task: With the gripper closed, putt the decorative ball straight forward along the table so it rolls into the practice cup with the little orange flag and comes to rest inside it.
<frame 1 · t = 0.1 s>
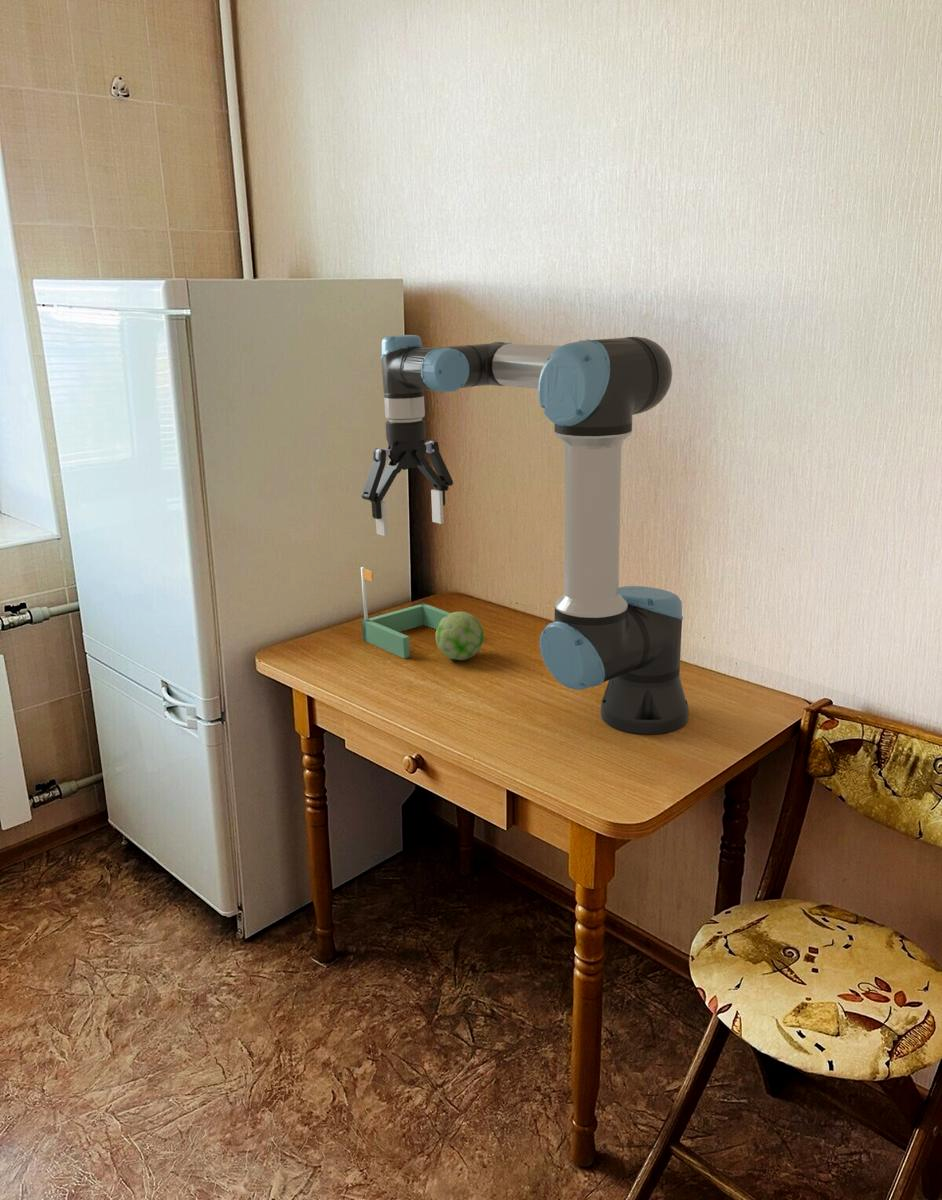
hand: (410, 528, 187), 28 cm above the table, fingers open, 13 cm apart
practice cup: (417, 640, 208), on the table
decorative ball: (460, 659, 197), on the table
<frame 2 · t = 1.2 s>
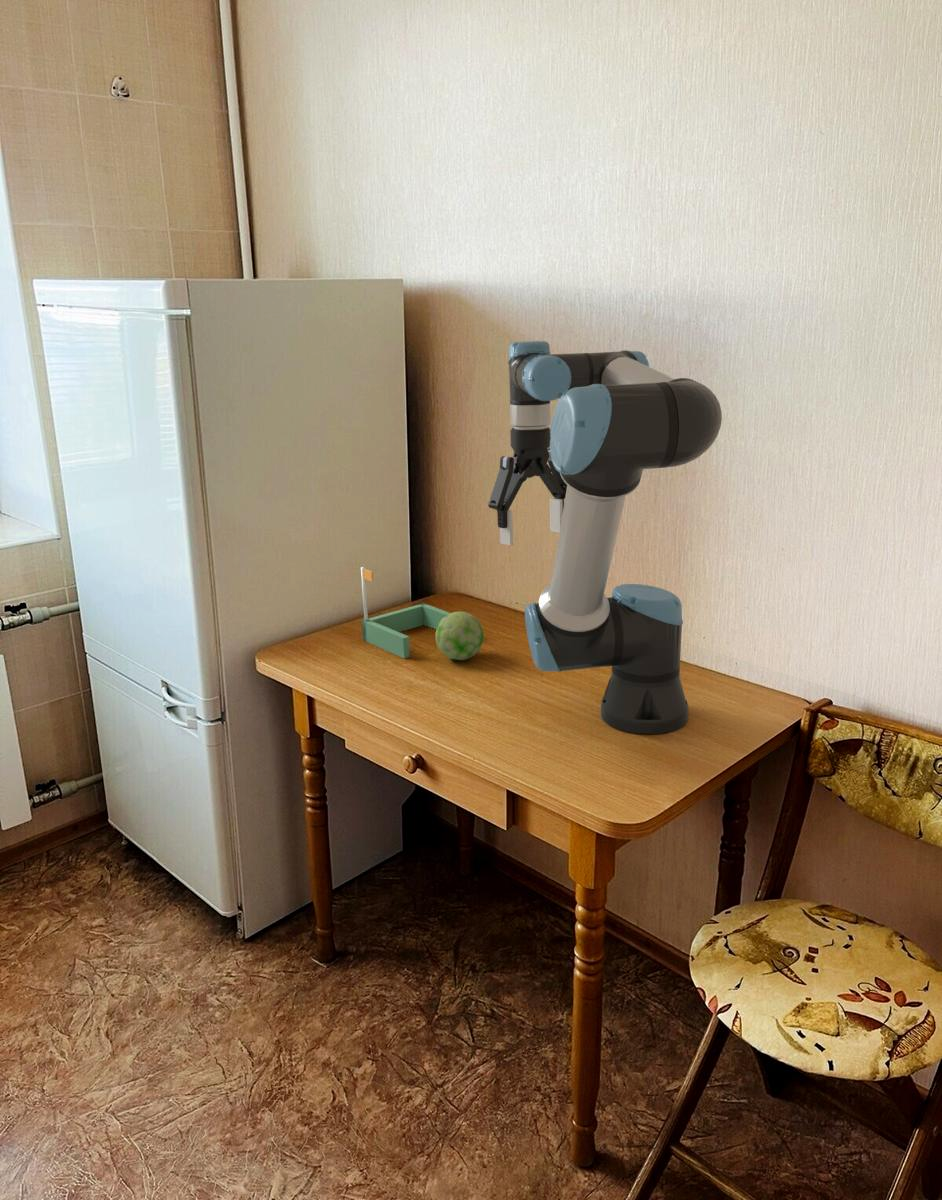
hand: (532, 537, 184), 26 cm above the table, fingers open, 13 cm apart
nothing on the table moved.
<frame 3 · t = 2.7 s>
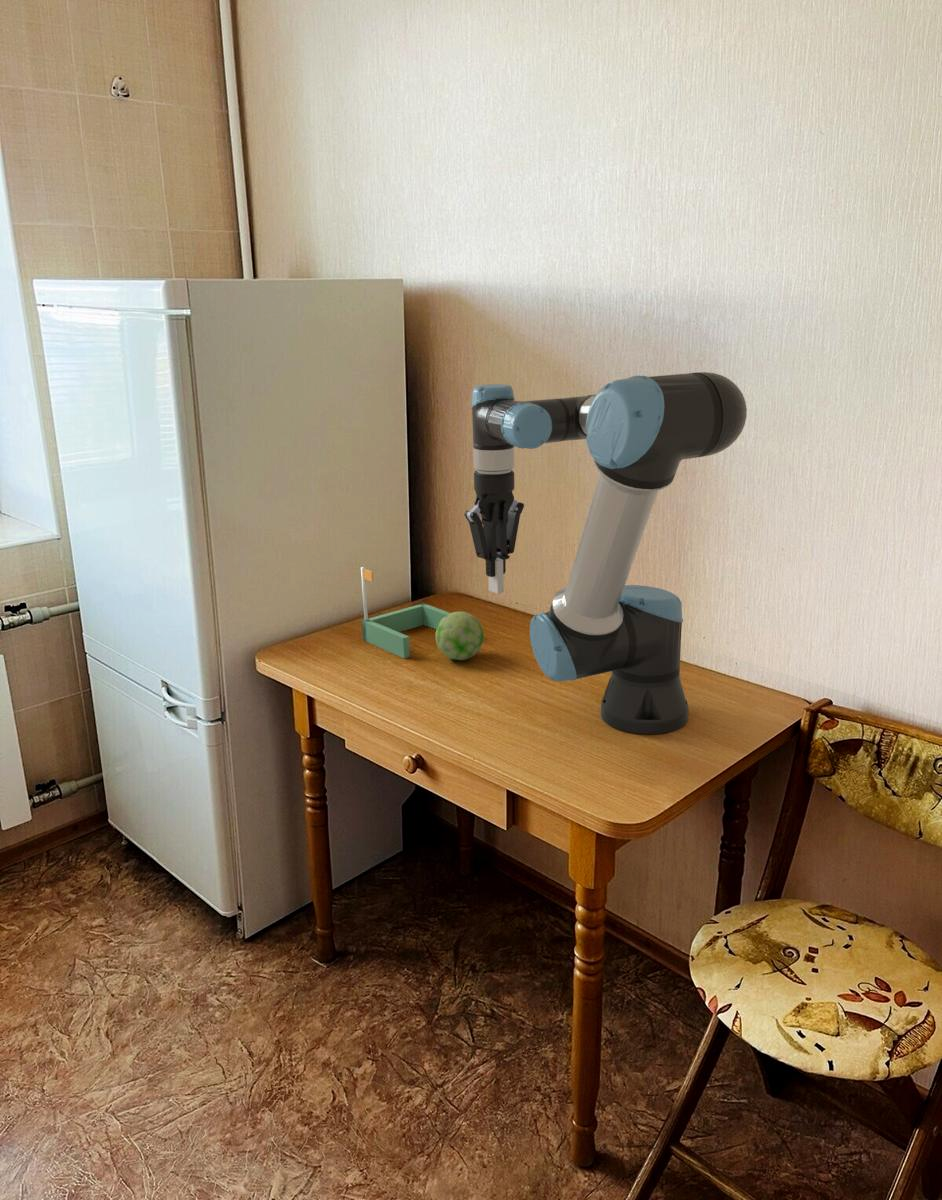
hand: (496, 591, 184), 17 cm above the table, fingers closed
nothing on the table moved.
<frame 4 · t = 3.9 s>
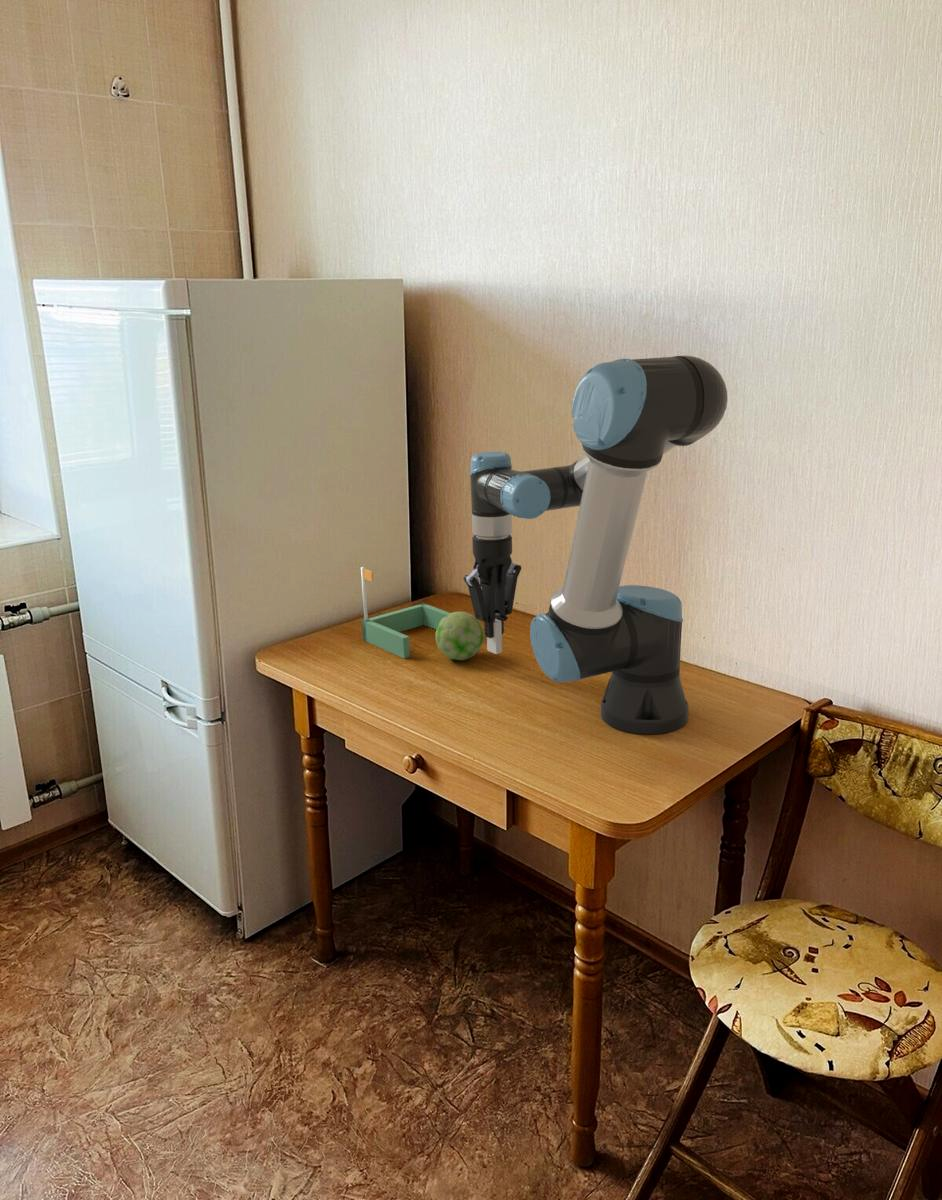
hand: (494, 651, 187), 5 cm above the table, fingers closed
nothing on the table moved.
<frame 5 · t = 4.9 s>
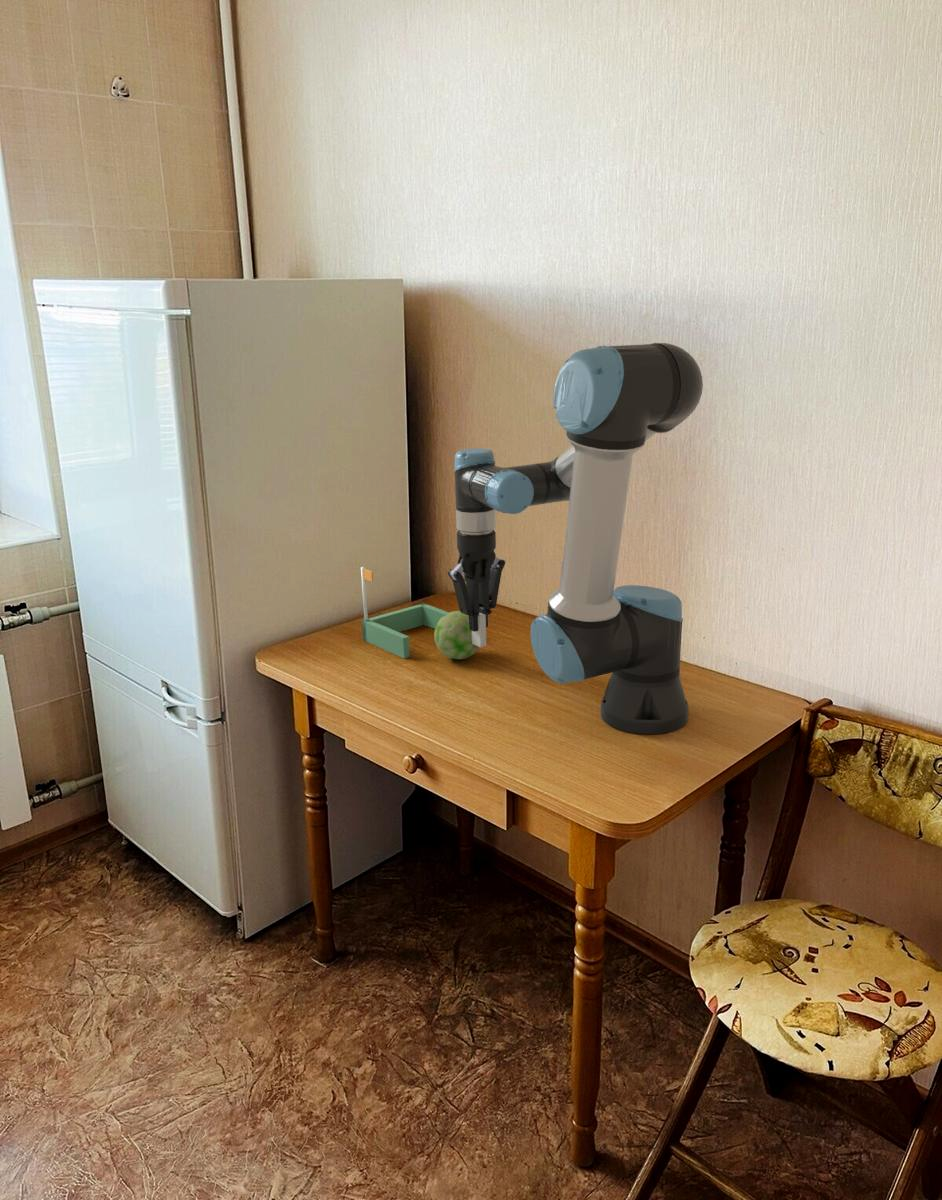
hand: (479, 644, 191), 5 cm above the table, fingers closed
decorative ball: (459, 658, 197), on the table, touching gripper
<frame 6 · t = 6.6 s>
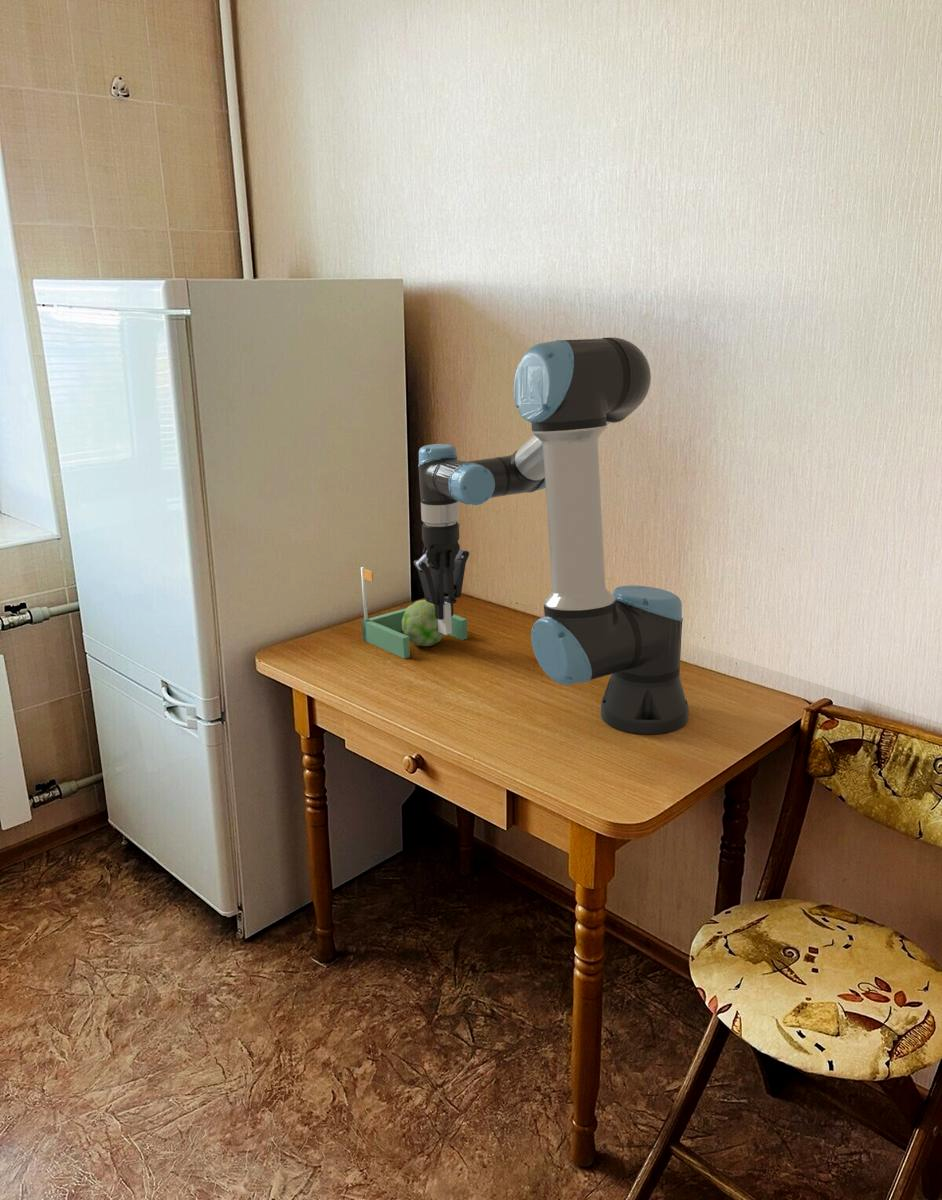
hand: (445, 632, 199), 4 cm above the table, fingers closed
decorative ball: (426, 645, 205), on the table, touching gripper
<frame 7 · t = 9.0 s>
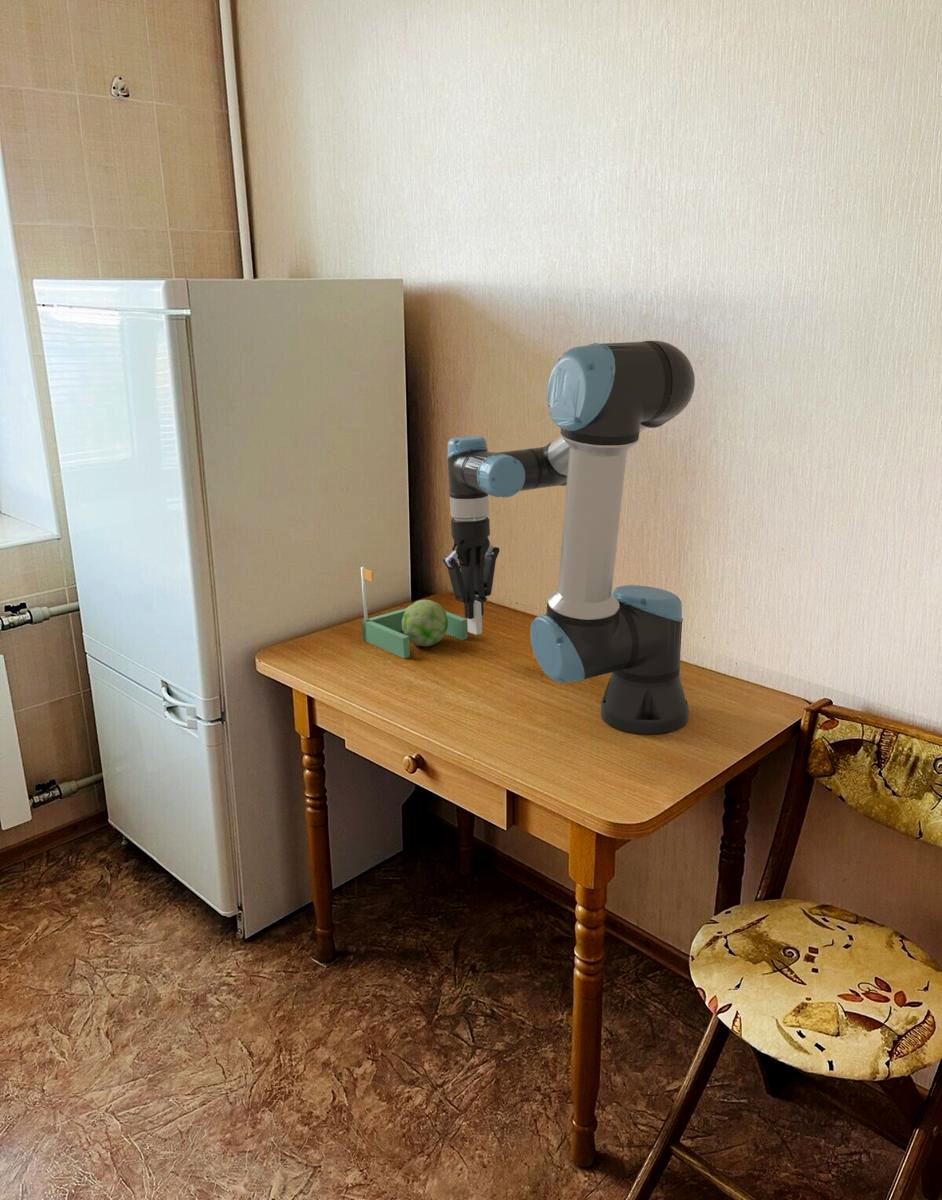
hand: (475, 632, 192), 7 cm above the table, fingers closed
decorative ball: (426, 645, 205), on the table
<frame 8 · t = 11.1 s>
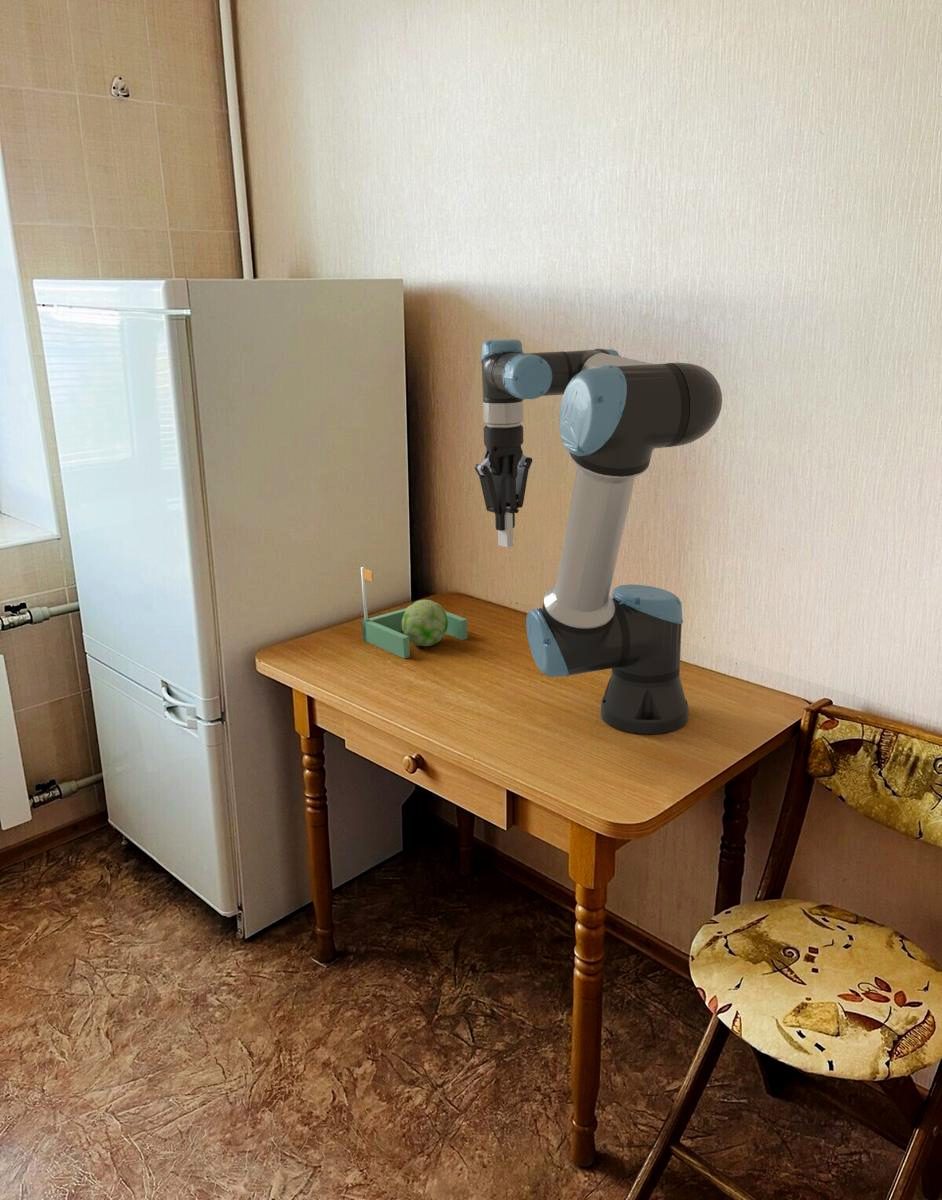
hand: (505, 545, 187), 24 cm above the table, fingers closed
nothing on the table moved.
at the end: decorative ball inside the target area on the practice cup (3.6 cm from its centre), point 0.0 cm above the practice cup's base; decorative ball moved 11.4 cm from its start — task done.
